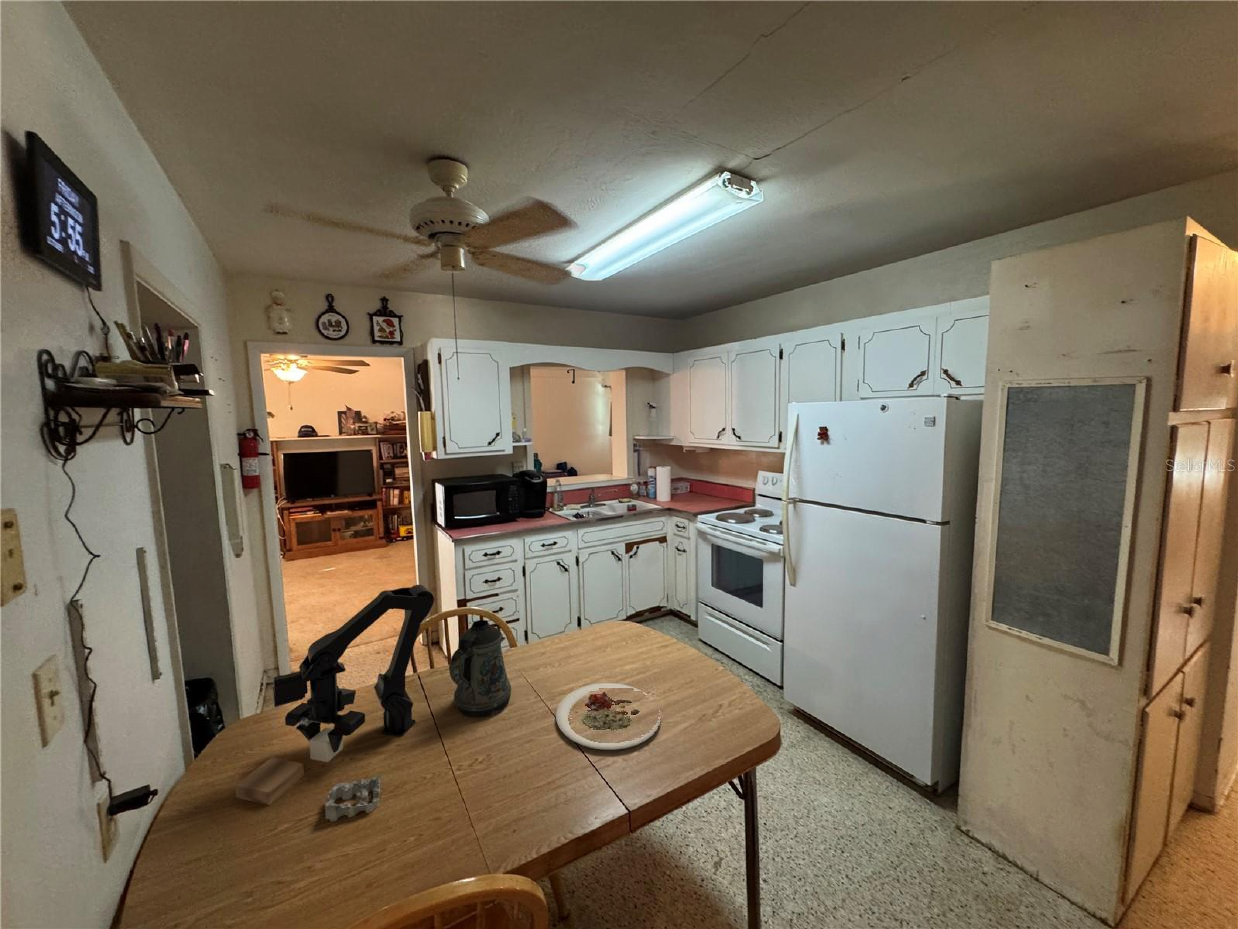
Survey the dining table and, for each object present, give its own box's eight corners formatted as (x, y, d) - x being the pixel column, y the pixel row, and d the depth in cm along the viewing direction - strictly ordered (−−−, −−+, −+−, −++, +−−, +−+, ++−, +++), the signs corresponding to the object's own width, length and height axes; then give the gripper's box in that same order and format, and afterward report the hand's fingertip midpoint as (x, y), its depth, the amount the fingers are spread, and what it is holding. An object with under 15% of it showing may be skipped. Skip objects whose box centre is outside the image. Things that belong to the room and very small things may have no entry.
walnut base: (303, 775, 116) (303, 763, 115) (269, 805, 107) (268, 792, 107) (272, 769, 117) (271, 757, 117) (236, 797, 109) (235, 785, 108)
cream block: (342, 748, 125) (342, 730, 124) (327, 762, 120) (326, 743, 120) (326, 745, 126) (325, 727, 125) (310, 759, 121) (309, 740, 121)
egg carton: (322, 825, 102) (321, 807, 102) (331, 798, 110) (330, 781, 109) (377, 813, 106) (377, 796, 105) (383, 788, 113) (382, 771, 112)
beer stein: (515, 686, 155) (515, 611, 152) (503, 726, 135) (502, 640, 133) (463, 686, 154) (462, 610, 151) (443, 725, 135) (441, 639, 132)
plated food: (618, 773, 119) (618, 760, 119) (533, 723, 137) (533, 712, 137) (680, 714, 143) (680, 703, 143) (601, 678, 161) (601, 668, 161)
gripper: (379, 679, 127) (381, 735, 129) (318, 670, 131) (320, 724, 133) (347, 704, 116) (349, 764, 118) (281, 693, 120) (285, 752, 122)
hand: (326, 749), depth 123 cm, fingers closed on cream block, 5 cm apart
